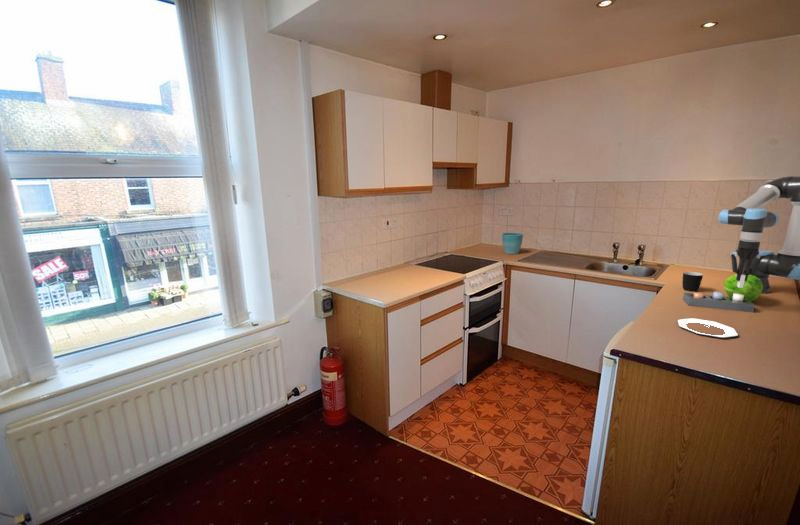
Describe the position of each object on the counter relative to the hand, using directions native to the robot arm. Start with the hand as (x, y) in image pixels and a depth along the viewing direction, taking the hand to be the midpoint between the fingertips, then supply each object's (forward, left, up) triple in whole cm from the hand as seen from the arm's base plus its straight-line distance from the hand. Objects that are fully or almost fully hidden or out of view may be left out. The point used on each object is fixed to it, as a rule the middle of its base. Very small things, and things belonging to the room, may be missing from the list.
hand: (739, 287), depth 184 cm
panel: (+8, 0, -11) cm, 13 cm away
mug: (+12, -29, -11) cm, 33 cm away
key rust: (+16, 0, -9) cm, 18 cm away
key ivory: (0, 0, -8) cm, 8 cm away
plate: (+23, +39, -12) cm, 46 cm away
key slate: (+8, 0, -8) cm, 11 cm away
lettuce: (-7, -16, -11) cm, 21 cm away
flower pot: (+123, -102, -11) cm, 160 cm away
